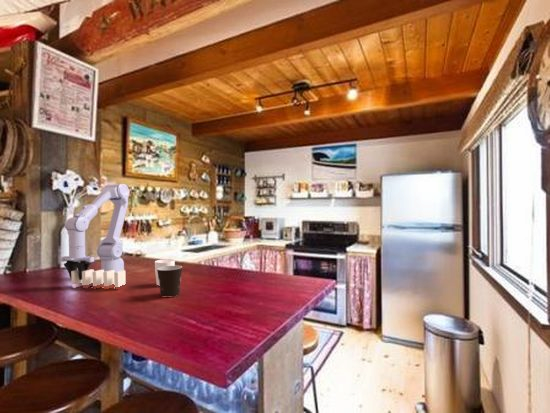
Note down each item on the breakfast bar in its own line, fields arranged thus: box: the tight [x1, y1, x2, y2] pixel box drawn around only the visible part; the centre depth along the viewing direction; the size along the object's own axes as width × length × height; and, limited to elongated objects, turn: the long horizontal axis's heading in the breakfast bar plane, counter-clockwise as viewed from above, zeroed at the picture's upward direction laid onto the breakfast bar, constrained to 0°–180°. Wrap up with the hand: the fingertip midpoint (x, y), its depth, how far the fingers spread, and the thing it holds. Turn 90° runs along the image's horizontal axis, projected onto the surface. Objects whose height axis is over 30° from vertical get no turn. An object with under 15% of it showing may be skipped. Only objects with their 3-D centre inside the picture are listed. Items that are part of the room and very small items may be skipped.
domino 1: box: [70, 269, 82, 285], centre depth 126 cm, size 4×2×7 cm, turn 167°
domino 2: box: [82, 268, 95, 285], centre depth 125 cm, size 4×2×7 cm, turn 168°
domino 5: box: [114, 269, 127, 288], centre depth 122 cm, size 4×2×7 cm, turn 168°
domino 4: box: [103, 270, 115, 286], centre depth 123 cm, size 4×2×7 cm, turn 168°
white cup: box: [154, 258, 176, 286], centre depth 127 cm, size 8×8×10 cm
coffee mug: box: [157, 265, 183, 297], centre depth 113 cm, size 12×9×10 cm
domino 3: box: [92, 269, 104, 286], centre depth 124 cm, size 4×2×7 cm, turn 168°
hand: (77, 279), depth 126 cm, fingers open, 4 cm apart
